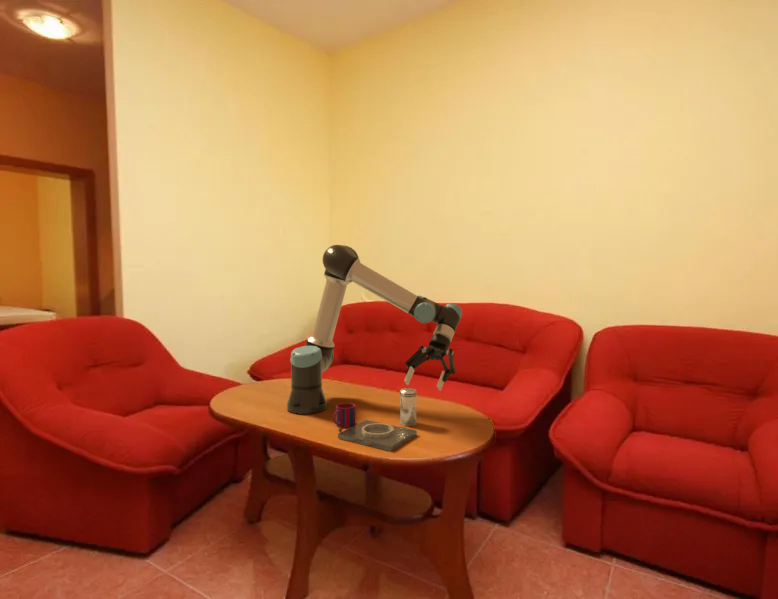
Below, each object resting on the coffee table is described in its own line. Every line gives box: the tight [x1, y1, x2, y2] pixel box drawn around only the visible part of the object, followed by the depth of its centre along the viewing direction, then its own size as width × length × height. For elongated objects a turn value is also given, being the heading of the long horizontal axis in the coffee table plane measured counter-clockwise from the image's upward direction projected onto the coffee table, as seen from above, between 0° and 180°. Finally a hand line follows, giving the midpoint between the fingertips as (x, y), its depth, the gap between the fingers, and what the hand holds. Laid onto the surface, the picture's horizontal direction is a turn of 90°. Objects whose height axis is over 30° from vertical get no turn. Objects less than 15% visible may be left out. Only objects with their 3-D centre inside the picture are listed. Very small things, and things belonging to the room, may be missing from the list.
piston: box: [399, 387, 418, 427], centre depth 164 cm, size 6×6×12 cm
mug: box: [332, 402, 357, 429], centre depth 162 cm, size 7×10×7 cm
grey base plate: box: [337, 419, 418, 452], centre depth 152 cm, size 20×16×3 cm
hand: (421, 385), depth 170 cm, fingers open, 13 cm apart
